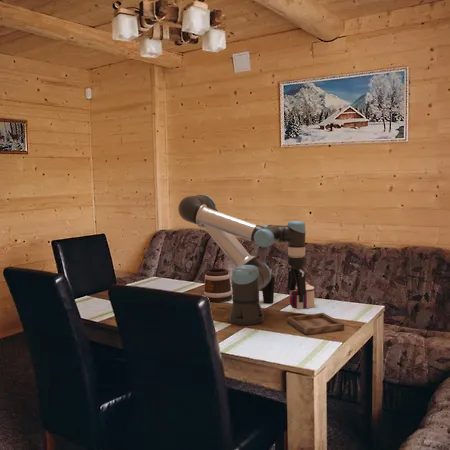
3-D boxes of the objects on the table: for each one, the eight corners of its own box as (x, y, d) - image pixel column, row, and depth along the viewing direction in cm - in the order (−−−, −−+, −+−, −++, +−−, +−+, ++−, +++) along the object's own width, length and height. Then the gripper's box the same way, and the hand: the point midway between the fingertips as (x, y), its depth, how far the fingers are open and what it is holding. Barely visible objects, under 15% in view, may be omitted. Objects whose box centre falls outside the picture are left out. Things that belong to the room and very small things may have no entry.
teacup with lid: (318, 305, 239) (318, 281, 238) (307, 309, 232) (307, 285, 231) (297, 301, 247) (297, 278, 246) (287, 305, 241) (286, 281, 240)
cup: (309, 307, 223) (309, 292, 222) (294, 311, 216) (294, 296, 216) (298, 304, 228) (298, 289, 227) (283, 308, 221) (283, 293, 221)
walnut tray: (305, 335, 196) (305, 329, 195) (287, 322, 213) (287, 316, 213) (344, 330, 200) (344, 324, 200) (323, 318, 218) (323, 312, 217)
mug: (238, 299, 256) (237, 270, 254) (213, 304, 247) (212, 274, 246) (217, 292, 272) (217, 265, 271) (193, 296, 264) (192, 268, 263)
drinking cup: (278, 301, 249) (278, 261, 247) (271, 305, 242) (270, 264, 241) (265, 299, 253) (264, 260, 251) (258, 303, 247) (257, 263, 245)
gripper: (314, 259, 212) (314, 312, 214) (295, 252, 231) (294, 300, 233) (298, 260, 210) (298, 313, 212) (280, 253, 229) (280, 302, 231)
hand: (296, 306), depth 223 cm, fingers closed on cup, 7 cm apart
